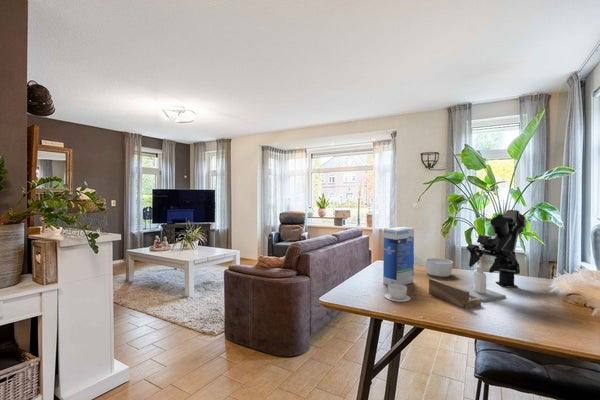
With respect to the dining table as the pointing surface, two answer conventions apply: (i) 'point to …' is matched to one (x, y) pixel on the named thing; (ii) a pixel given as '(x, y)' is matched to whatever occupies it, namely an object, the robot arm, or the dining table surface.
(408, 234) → the string lights box
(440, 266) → the ramekin
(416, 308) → the dining table surface
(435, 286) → the walnut stand
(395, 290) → the teacup
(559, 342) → the dining table surface
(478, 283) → the eye dropper bottle
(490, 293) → the grey mat
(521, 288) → the dining table surface
